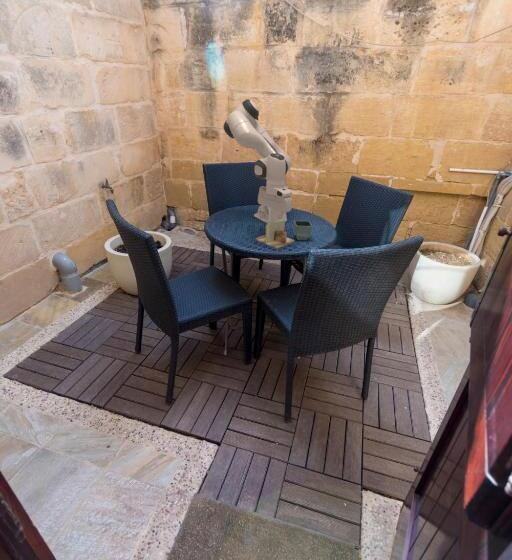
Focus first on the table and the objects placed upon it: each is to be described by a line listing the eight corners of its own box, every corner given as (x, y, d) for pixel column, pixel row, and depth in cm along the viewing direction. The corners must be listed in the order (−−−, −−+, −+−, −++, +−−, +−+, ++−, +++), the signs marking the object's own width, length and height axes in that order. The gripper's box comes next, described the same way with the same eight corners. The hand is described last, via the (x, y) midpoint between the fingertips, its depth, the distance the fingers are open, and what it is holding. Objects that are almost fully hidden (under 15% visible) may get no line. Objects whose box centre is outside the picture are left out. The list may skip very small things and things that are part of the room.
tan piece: (255, 239, 174) (256, 227, 170) (273, 233, 182) (274, 222, 179) (276, 249, 164) (277, 236, 161) (294, 242, 173) (295, 230, 169)
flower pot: (307, 235, 181) (309, 220, 177) (310, 241, 174) (312, 226, 169) (292, 235, 181) (293, 220, 177) (294, 241, 173) (296, 226, 169)
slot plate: (265, 241, 170) (266, 223, 165) (280, 236, 177) (282, 218, 172) (268, 242, 168) (269, 224, 163) (283, 237, 176) (284, 219, 171)
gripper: (255, 185, 161) (254, 212, 168) (286, 194, 149) (283, 223, 155) (264, 184, 165) (262, 210, 172) (294, 192, 152) (292, 220, 159)
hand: (273, 216), depth 163 cm, fingers open, 8 cm apart
